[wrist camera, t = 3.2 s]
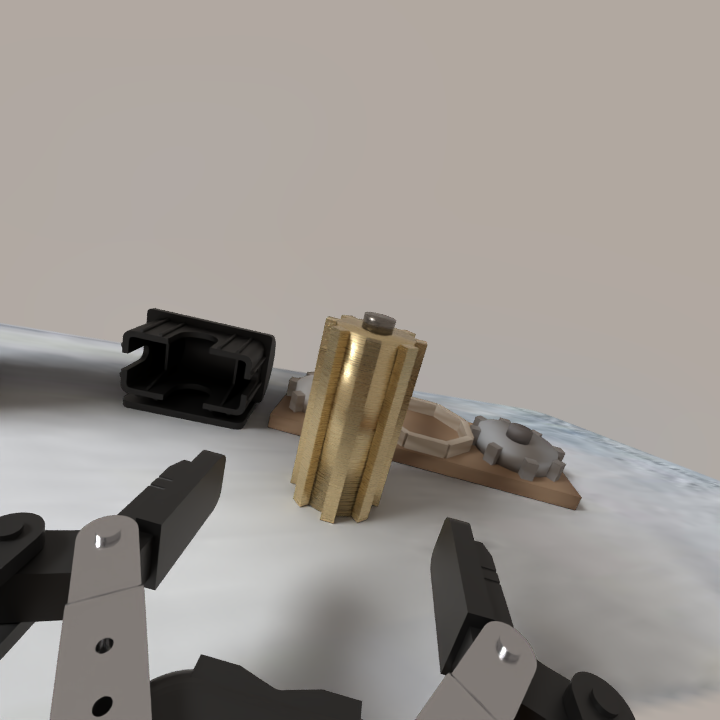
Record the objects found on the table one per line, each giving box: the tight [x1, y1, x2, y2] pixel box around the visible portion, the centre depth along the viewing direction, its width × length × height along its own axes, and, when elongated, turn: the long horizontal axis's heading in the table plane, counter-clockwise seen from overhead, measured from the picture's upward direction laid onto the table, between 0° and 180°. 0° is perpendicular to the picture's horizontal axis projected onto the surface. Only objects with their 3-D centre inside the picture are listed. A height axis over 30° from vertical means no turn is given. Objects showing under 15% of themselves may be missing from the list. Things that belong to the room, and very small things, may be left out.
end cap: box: [120, 308, 276, 429], centre depth 30 cm, size 10×7×7 cm
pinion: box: [291, 312, 427, 523], centre depth 22 cm, size 6×6×12 cm
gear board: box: [268, 372, 582, 510], centre depth 33 cm, size 25×9×4 cm, turn 83°
